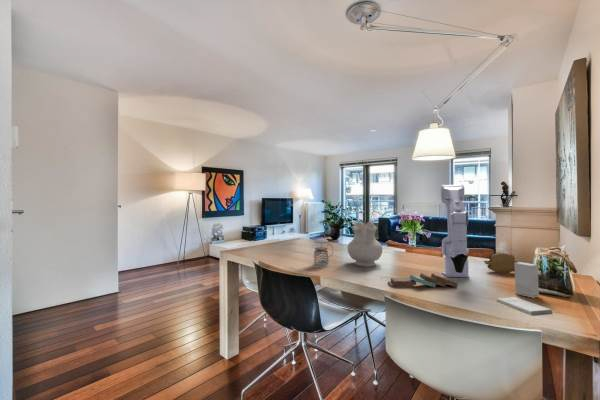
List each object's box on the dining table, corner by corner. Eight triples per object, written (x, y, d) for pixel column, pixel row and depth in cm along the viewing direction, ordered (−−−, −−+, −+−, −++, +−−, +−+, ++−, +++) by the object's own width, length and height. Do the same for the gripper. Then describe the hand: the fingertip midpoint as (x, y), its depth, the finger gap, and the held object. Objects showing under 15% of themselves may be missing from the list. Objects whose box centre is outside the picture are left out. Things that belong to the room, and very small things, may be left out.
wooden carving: (518, 272, 141) (518, 252, 141) (523, 274, 136) (523, 254, 136) (482, 270, 143) (482, 251, 143) (486, 273, 139) (486, 253, 139)
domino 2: (411, 277, 122) (390, 277, 122) (416, 281, 117) (394, 281, 117) (411, 281, 122) (390, 281, 122) (416, 285, 117) (394, 284, 117)
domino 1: (408, 281, 122) (387, 281, 122) (412, 285, 117) (391, 284, 117) (408, 285, 122) (387, 285, 122) (412, 288, 117) (391, 288, 117)
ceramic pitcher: (386, 271, 147) (390, 224, 147) (349, 268, 147) (353, 221, 148) (376, 262, 169) (379, 221, 169) (344, 260, 169) (347, 219, 169)
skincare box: (539, 297, 105) (539, 264, 105) (533, 298, 103) (532, 265, 103) (520, 292, 110) (520, 261, 110) (514, 293, 108) (513, 262, 108)
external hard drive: (530, 316, 89) (496, 302, 101) (552, 314, 90) (515, 300, 102) (530, 311, 89) (496, 297, 101) (552, 309, 90) (515, 296, 102)
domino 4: (440, 280, 121) (420, 273, 122) (446, 283, 116) (425, 276, 117) (439, 283, 121) (419, 276, 122) (445, 287, 116) (424, 279, 117)
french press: (313, 263, 162) (313, 220, 162) (333, 264, 160) (333, 220, 160) (311, 267, 152) (311, 221, 152) (333, 268, 150) (332, 221, 150)
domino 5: (452, 280, 121) (431, 273, 121) (458, 283, 116) (436, 275, 116) (450, 284, 121) (430, 276, 121) (456, 287, 116) (435, 279, 116)
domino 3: (428, 279, 121) (410, 274, 120) (436, 283, 116) (417, 278, 115) (427, 283, 121) (409, 278, 119) (434, 287, 116) (416, 282, 115)
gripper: (456, 237, 125) (456, 267, 125) (441, 240, 117) (441, 273, 117) (474, 239, 120) (474, 271, 120) (458, 242, 111) (459, 276, 111)
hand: (459, 272), depth 118 cm, fingers closed
